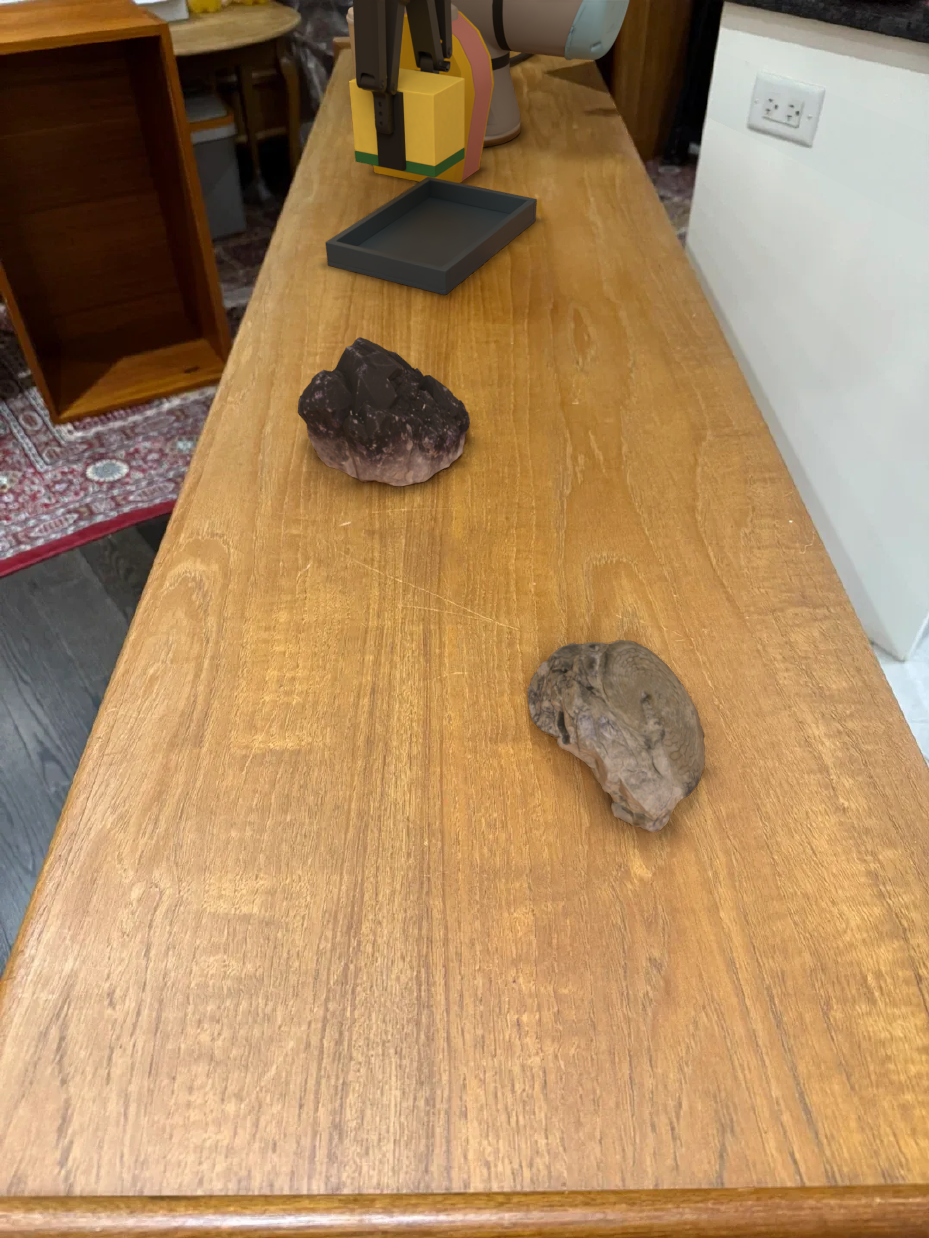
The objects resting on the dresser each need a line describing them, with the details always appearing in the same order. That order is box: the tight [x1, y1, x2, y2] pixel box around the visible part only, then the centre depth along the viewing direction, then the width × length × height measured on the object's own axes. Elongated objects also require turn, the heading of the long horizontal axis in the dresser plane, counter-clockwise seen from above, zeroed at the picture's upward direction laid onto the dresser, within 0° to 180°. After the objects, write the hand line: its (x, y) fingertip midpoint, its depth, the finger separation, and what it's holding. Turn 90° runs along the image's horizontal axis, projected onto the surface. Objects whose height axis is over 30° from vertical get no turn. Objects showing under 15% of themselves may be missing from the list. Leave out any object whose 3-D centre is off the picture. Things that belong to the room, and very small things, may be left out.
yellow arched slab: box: [372, 3, 494, 183], centre depth 108 cm, size 15×8×18 cm, turn 63°
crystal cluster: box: [297, 336, 471, 487], centre depth 68 cm, size 13×14×10 cm
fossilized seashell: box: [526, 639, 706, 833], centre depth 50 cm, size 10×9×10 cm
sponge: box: [348, 68, 465, 178], centre depth 84 cm, size 6×9×7 cm, turn 62°
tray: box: [325, 177, 538, 296], centre depth 98 cm, size 22×15×2 cm
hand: (410, 156), depth 86 cm, fingers closed on sponge, 6 cm apart
